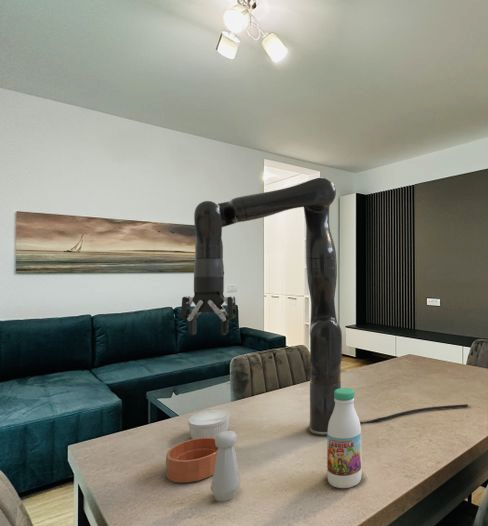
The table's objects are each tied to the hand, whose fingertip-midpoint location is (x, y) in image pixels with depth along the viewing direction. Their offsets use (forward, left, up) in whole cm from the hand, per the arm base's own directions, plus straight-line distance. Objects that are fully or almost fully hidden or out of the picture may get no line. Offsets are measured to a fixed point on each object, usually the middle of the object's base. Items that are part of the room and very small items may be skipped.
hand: (208, 334), depth 102 cm
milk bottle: (-39, +15, -30) cm, 52 cm away
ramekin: (+3, -7, -30) cm, 31 cm away
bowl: (-3, +12, -30) cm, 33 cm away
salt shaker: (-15, +22, -30) cm, 40 cm away
